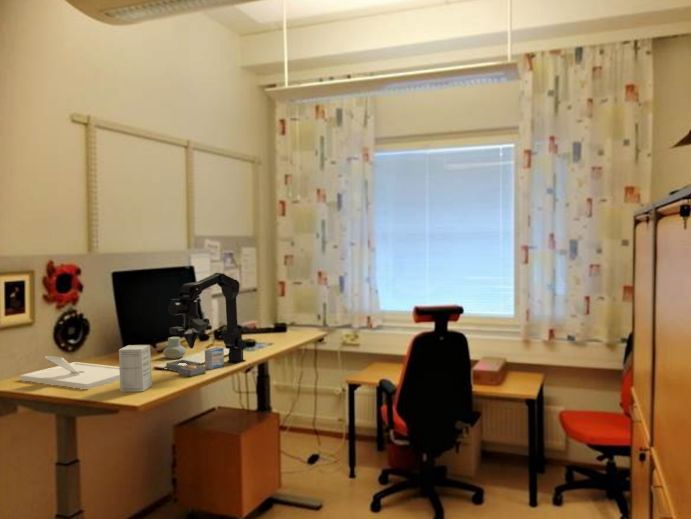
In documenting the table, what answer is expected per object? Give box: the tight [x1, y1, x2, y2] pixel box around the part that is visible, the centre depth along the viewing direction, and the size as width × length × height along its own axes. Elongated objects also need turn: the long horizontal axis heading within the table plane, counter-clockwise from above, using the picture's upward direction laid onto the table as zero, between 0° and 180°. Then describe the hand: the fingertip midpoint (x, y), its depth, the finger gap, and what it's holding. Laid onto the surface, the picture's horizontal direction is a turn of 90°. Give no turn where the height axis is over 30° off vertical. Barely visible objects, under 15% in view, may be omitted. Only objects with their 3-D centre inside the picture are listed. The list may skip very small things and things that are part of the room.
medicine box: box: [204, 346, 225, 370], centre depth 263 cm, size 8×4×9 cm, turn 149°
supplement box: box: [118, 344, 153, 393], centre depth 227 cm, size 10×9×17 cm
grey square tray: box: [163, 359, 203, 373], centre depth 262 cm, size 12×14×2 cm
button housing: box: [178, 365, 207, 378], centre depth 250 cm, size 8×8×3 cm
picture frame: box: [19, 355, 120, 390], centre depth 247 cm, size 40×12×28 cm
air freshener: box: [162, 336, 187, 360], centre depth 286 cm, size 11×8×10 cm
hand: (191, 348), depth 250 cm, fingers closed
